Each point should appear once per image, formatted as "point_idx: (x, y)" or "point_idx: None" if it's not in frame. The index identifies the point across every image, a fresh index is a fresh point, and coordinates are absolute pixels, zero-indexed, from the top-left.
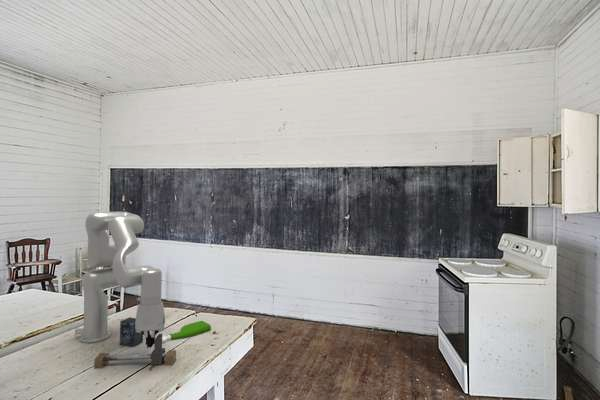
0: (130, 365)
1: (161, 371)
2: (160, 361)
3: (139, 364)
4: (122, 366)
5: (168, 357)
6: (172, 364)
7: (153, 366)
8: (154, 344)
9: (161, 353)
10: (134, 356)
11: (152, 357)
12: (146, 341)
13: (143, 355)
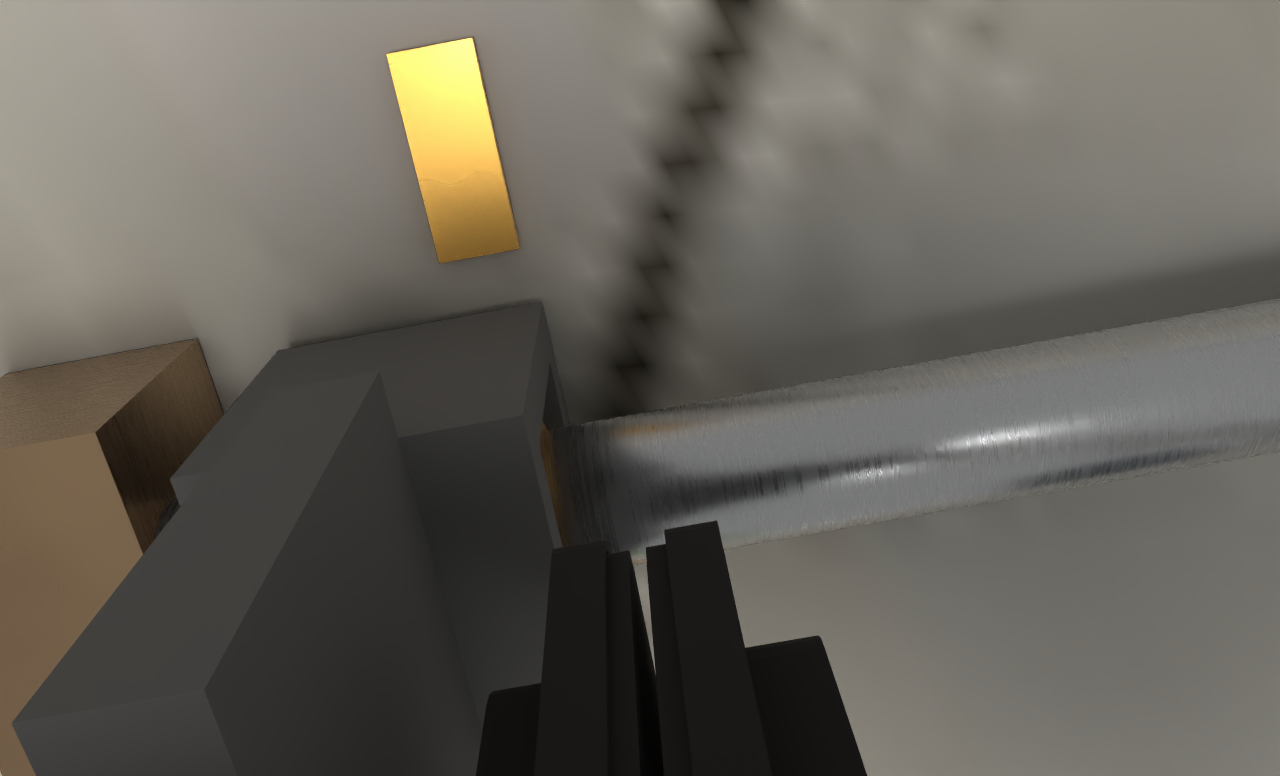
0: (1068, 256)
1: (88, 34)
2: (286, 368)
3: (865, 324)
4: (1251, 189)
5: (8, 433)
6: (3, 378)
7: (438, 239)
8: (282, 543)
9: (188, 471)
10: (1073, 370)
11: (492, 375)
12: (811, 724)
13: (818, 436)
